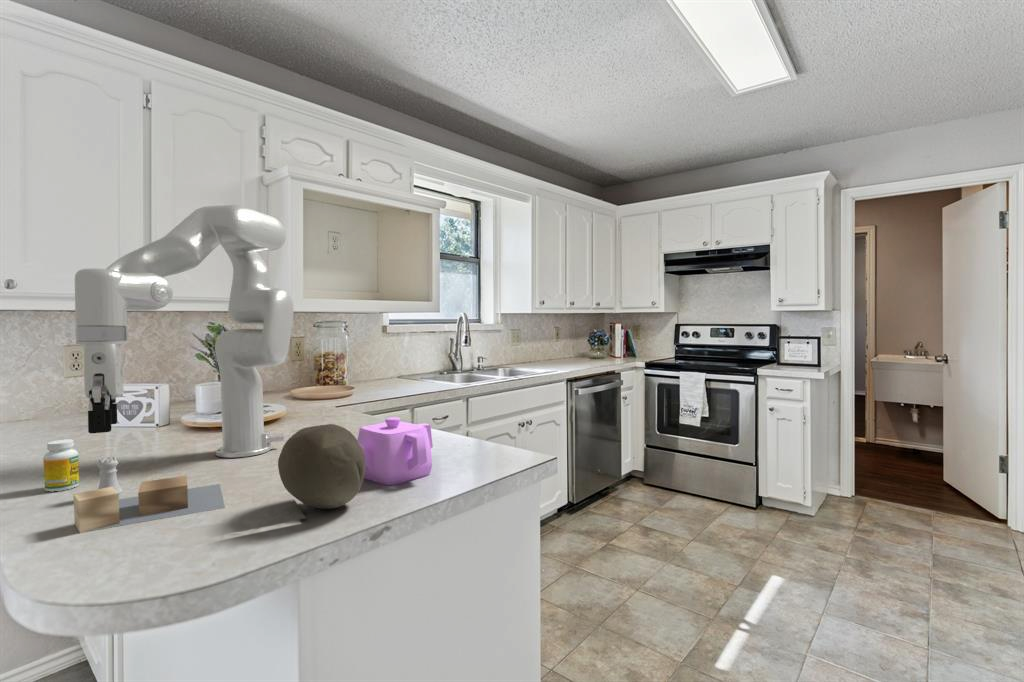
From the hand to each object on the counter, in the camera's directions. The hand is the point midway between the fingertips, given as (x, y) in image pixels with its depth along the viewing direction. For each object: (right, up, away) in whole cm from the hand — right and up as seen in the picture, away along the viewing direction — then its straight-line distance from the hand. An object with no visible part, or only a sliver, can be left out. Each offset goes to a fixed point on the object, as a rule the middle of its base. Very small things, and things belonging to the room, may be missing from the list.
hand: (103, 428), depth 97 cm
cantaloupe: (+43, -14, -4) cm, 45 cm away
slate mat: (+13, -14, -4) cm, 19 cm away
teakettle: (+49, -13, +17) cm, 54 cm away
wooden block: (+14, -13, -4) cm, 20 cm away
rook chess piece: (0, -14, +1) cm, 14 cm away
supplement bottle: (-15, -14, +9) cm, 23 cm away
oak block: (+9, -13, -13) cm, 20 cm away
